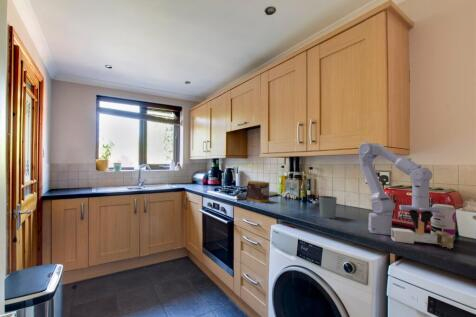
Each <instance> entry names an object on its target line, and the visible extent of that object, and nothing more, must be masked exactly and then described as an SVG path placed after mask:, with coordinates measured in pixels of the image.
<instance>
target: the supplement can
mask: <svg viewBox="0 0 476 317" xmlns="http://www.w3.org/2000/svg"><path fill="white" fill-rule="evenodd" d="M431 207H434V208H441V209H442V213H433V212H432V214H433V216H432V217H431V219H430V234H434V235H436V231H442V232H447V233H448V234H450V235H452V236H453V241H455V240H456V208H455V207H454V206H453V205H450V204H443V203H442V204H441V203H433V204H432V206H431Z"/></svg>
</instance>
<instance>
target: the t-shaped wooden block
mask: <svg viewBox="0 0 476 317" xmlns="http://www.w3.org/2000/svg"><path fill="white" fill-rule="evenodd" d="M413 232H414V242H417V243H427V244H434V245H435V244H436V245H438V244H437V236H436V235H434V234H431V233H425V230H424V222H423V221H422V220H418V229H415V231H413ZM392 237H393V238H394V231H393V230H392Z"/></svg>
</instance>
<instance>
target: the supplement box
mask: <svg viewBox="0 0 476 317" xmlns="http://www.w3.org/2000/svg"><path fill="white" fill-rule="evenodd" d="M246 184H247V186H246V188H247V191H246V200H247V201H250V202H256V203H264V202H265V203H266V202H269V201H270V198H269V197H270V182H269V181H262V180H247V183H246Z"/></svg>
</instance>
